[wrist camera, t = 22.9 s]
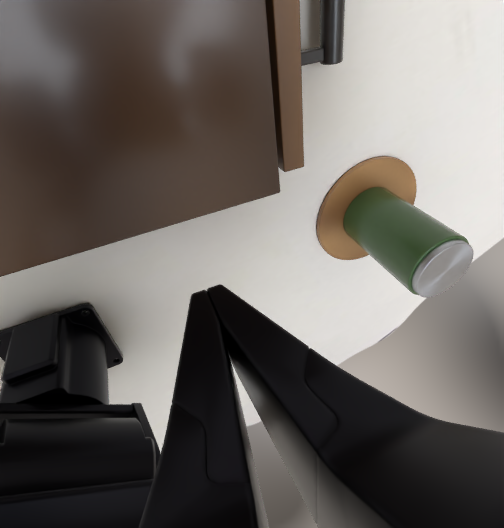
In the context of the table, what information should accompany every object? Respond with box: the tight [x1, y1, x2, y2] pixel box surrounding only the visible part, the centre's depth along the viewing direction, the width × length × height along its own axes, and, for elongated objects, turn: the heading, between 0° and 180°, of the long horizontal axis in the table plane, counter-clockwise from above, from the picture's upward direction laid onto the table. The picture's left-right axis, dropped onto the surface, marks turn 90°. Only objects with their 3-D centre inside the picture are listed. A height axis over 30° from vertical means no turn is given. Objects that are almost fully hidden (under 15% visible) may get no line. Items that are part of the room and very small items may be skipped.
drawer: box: [265, 0, 345, 172], centre depth 15 cm, size 18×13×3 cm
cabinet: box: [0, 0, 280, 277], centre depth 14 cm, size 15×14×5 cm
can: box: [343, 187, 473, 297], centre depth 24 cm, size 5×5×8 cm
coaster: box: [317, 156, 416, 260], centre depth 28 cm, size 9×9×1 cm
